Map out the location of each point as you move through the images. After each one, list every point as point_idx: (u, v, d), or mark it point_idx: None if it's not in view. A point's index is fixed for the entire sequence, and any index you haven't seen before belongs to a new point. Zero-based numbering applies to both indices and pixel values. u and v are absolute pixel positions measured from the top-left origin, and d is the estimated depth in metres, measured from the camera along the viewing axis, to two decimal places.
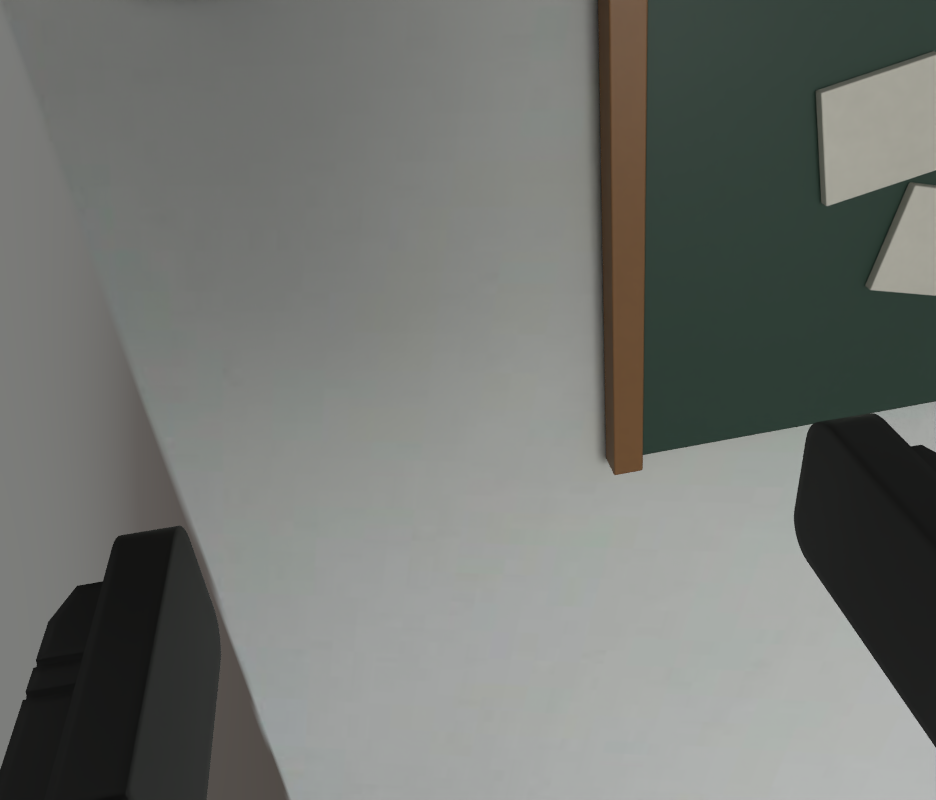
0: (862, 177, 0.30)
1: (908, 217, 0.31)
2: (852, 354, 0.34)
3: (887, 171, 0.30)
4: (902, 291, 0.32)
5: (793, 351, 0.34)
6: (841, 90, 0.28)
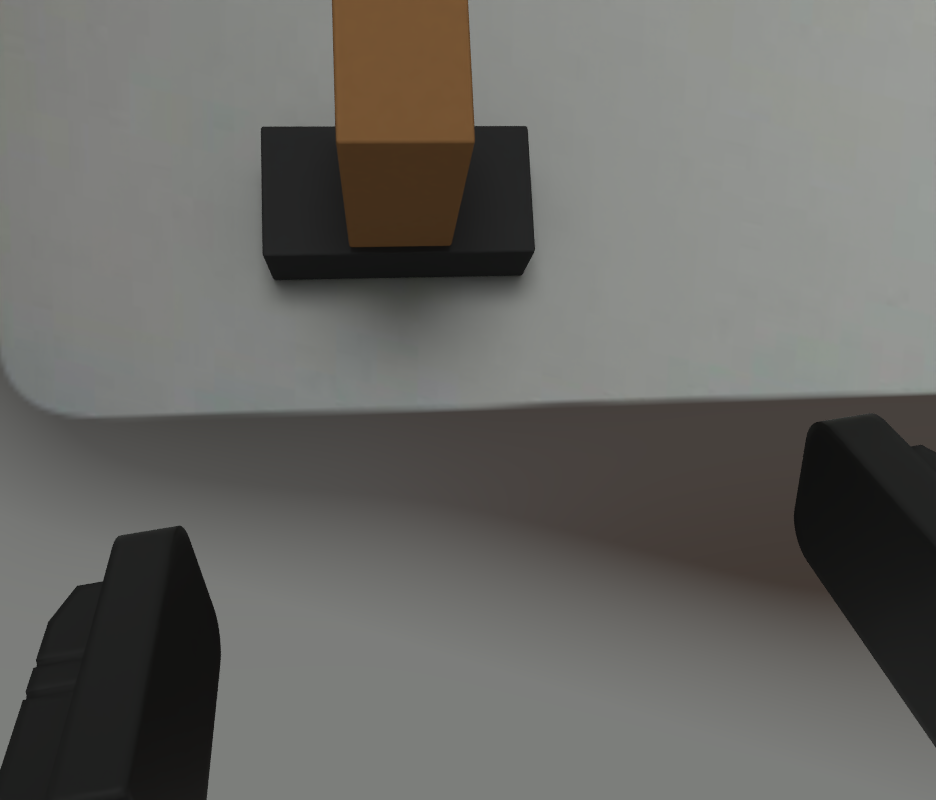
0: None
1: None
2: None
3: None
4: None
5: None
6: None
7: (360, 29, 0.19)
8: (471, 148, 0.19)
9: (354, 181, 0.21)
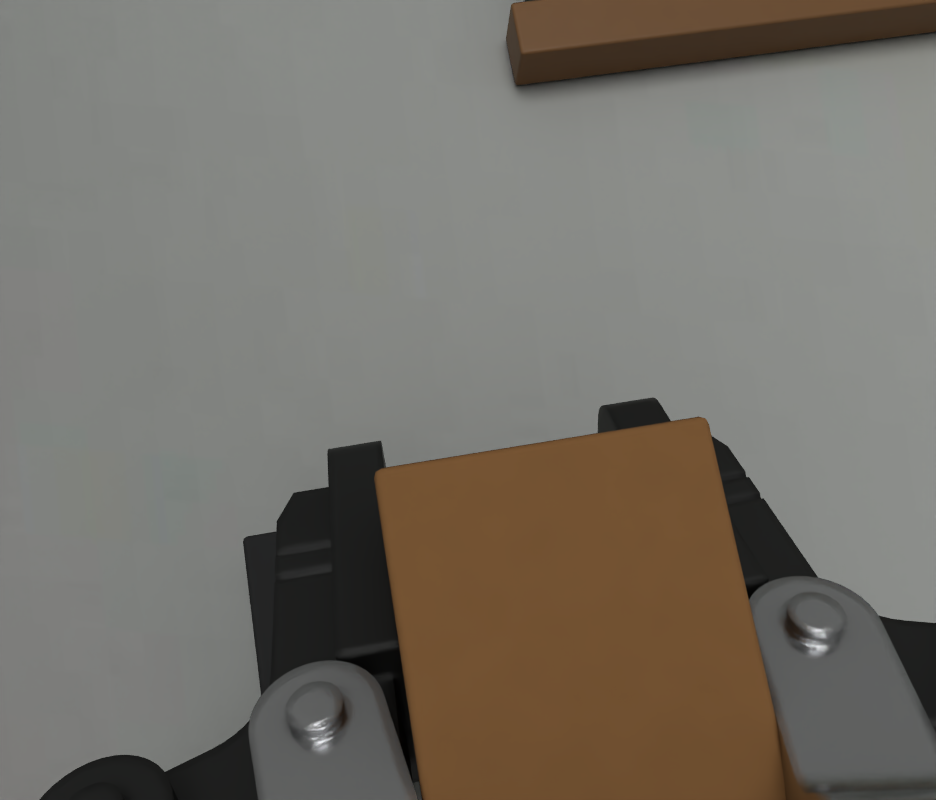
0: None
1: None
2: None
3: None
4: None
5: None
6: None
7: (462, 570, 0.07)
8: None
9: None
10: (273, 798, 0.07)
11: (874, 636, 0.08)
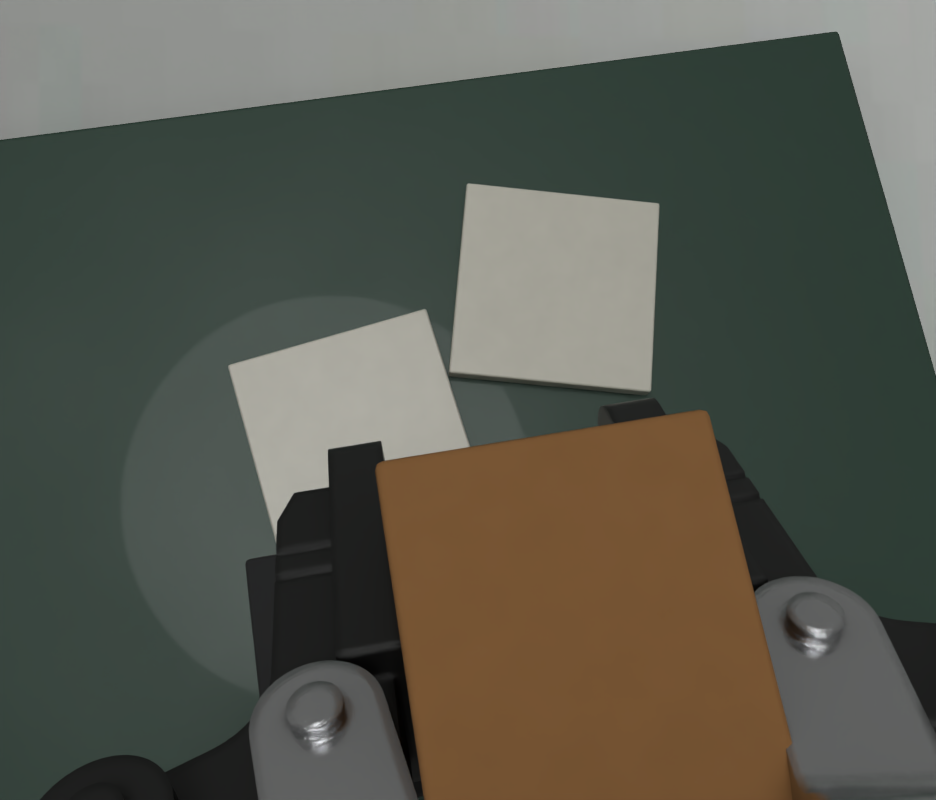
0: (434, 446, 0.17)
1: (507, 364, 0.17)
2: (787, 374, 0.18)
3: (426, 401, 0.17)
4: (650, 326, 0.17)
5: (788, 499, 0.17)
6: None
7: (463, 562, 0.07)
8: None
9: None
10: (273, 798, 0.07)
11: (873, 636, 0.08)
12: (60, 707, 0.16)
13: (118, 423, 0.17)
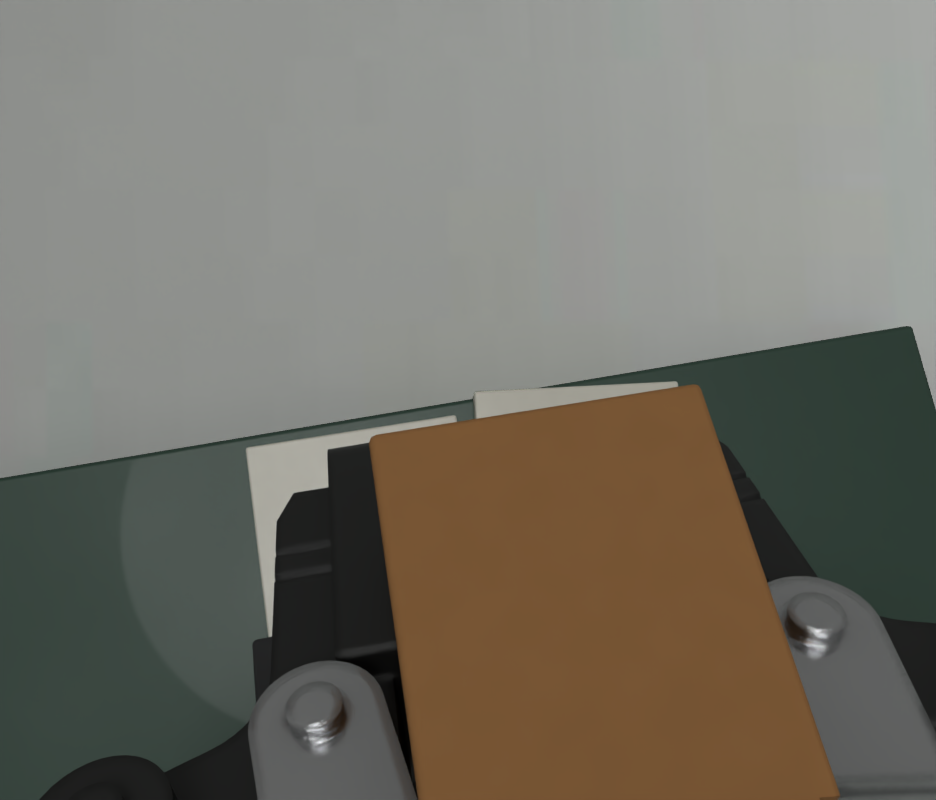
0: None
1: None
2: None
3: None
4: None
5: None
6: None
7: (455, 527, 0.07)
8: None
9: None
10: (272, 798, 0.07)
11: (874, 636, 0.08)
12: None
13: None
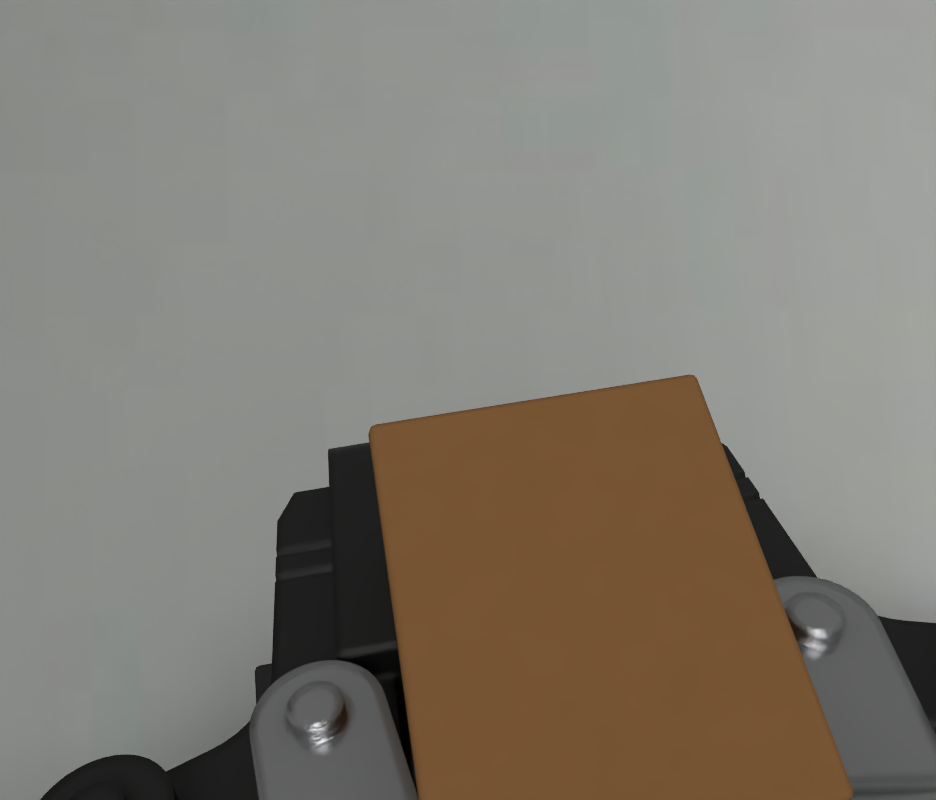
0: None
1: None
2: None
3: None
4: None
5: None
6: None
7: (453, 510, 0.07)
8: None
9: None
10: (274, 798, 0.07)
11: (873, 636, 0.08)
12: None
13: None
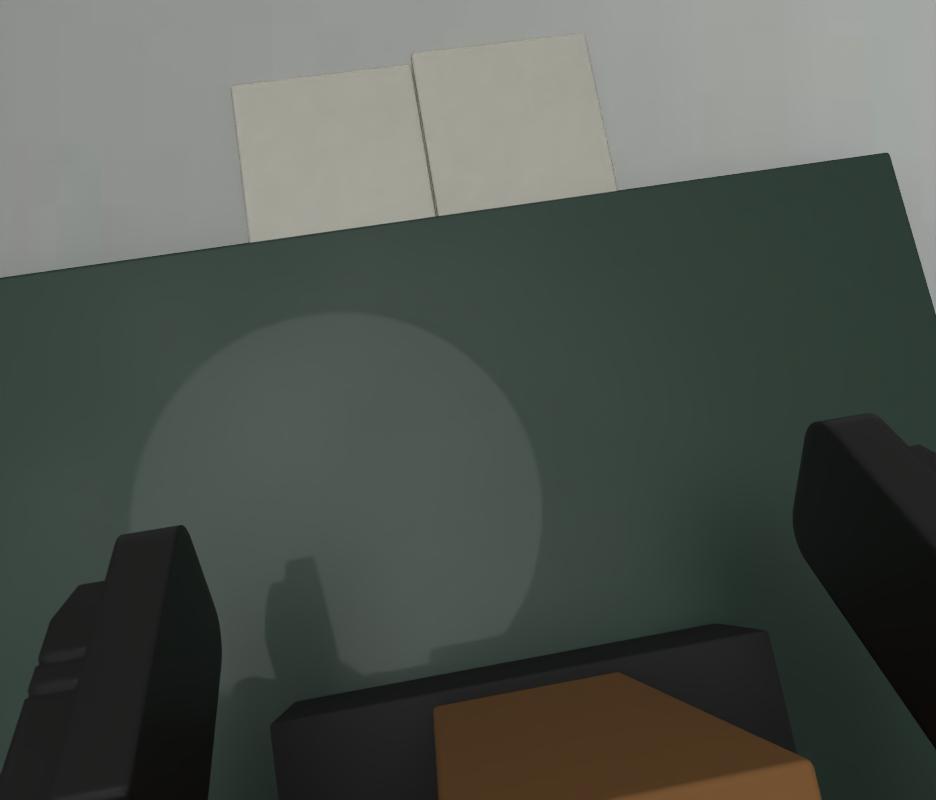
0: (399, 177, 0.19)
1: (488, 200, 0.19)
2: None
3: (398, 139, 0.19)
4: (603, 139, 0.19)
5: (842, 660, 0.16)
6: (254, 224, 0.19)
7: None
8: None
9: None
10: None
11: None
12: None
13: None
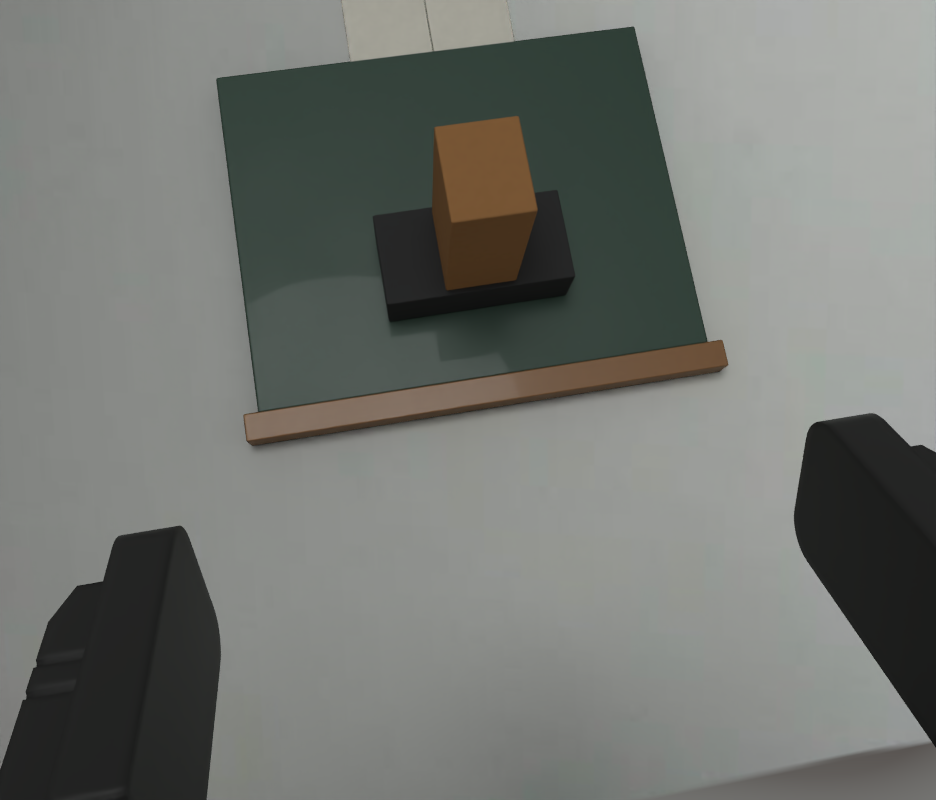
0: (416, 38, 0.42)
1: (456, 48, 0.42)
2: (602, 176, 0.40)
3: (416, 21, 0.42)
4: (509, 22, 0.43)
5: (600, 228, 0.40)
6: (352, 57, 0.42)
7: (456, 149, 0.30)
8: (535, 214, 0.30)
9: (457, 245, 0.31)
10: None
11: None
12: (292, 302, 0.38)
13: (311, 192, 0.39)
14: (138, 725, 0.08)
